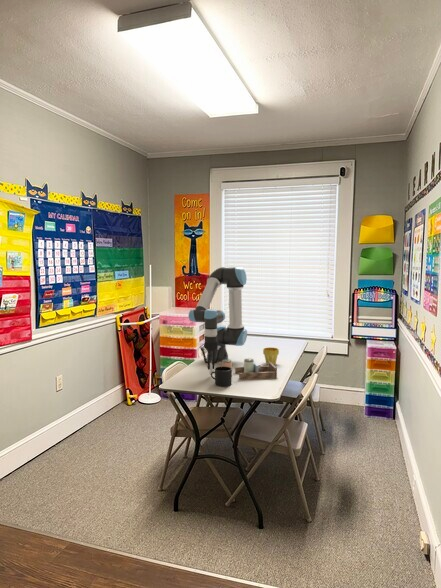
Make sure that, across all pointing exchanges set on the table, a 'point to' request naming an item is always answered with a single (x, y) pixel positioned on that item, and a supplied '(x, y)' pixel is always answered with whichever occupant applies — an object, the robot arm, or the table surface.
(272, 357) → the plant pot
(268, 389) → the table surface
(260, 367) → the pusher
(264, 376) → the lane
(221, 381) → the mug
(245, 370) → the sage jar
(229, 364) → the clay jar
